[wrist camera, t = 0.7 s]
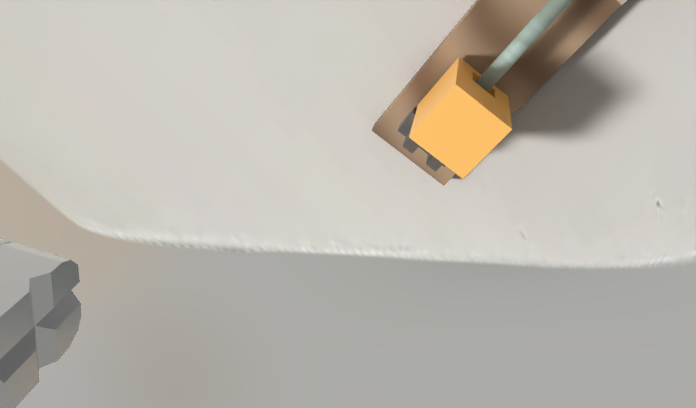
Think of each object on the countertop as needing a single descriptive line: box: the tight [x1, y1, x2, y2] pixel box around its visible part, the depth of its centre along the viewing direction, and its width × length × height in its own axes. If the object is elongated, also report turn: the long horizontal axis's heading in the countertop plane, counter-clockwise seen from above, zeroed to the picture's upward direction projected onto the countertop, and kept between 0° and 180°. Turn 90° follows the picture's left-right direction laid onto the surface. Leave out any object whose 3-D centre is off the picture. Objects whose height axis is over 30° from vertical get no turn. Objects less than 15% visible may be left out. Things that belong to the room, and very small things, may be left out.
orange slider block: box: [409, 57, 512, 179], centre depth 43 cm, size 5×5×7 cm
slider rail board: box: [372, 0, 627, 185], centre depth 41 cm, size 26×8×7 cm, turn 144°
